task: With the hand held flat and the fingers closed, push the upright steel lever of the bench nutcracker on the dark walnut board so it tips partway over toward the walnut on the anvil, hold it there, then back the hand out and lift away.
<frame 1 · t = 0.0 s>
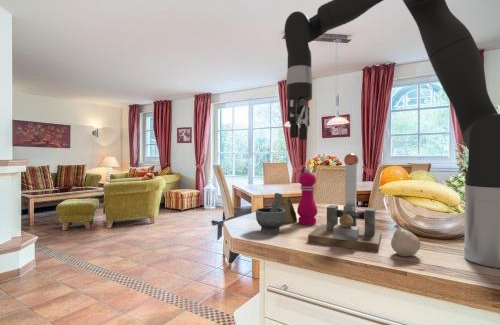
hand: (299, 138, 86), 29 cm above the counter, tool pointing down, fingers open, 8 cm apart
mortar and pestle: (271, 231, 93), on the counter
rock: (282, 222, 108), on the counter
pepper mill: (307, 223, 105), on the counter
garlic bulb: (405, 256, 70), on the counter
lever: (350, 192, 83), point 14 cm above the counter, hinge at 0.0°
cracker base: (345, 239, 84), on the counter
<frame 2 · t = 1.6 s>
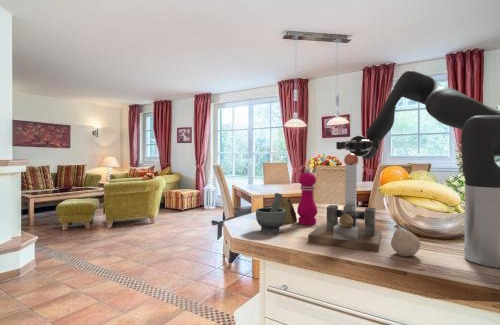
hand: (355, 144, 94), 28 cm above the counter, tool horizontal, fingers open, 7 cm apart
nothing on the counter moved.
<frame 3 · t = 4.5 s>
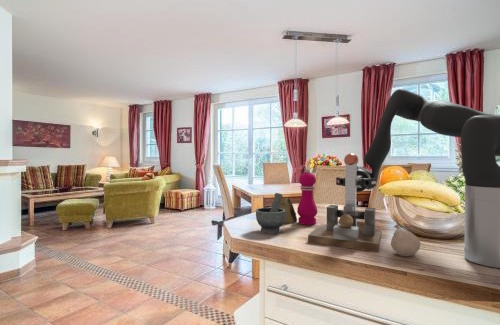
hand: (351, 183, 86), 16 cm above the counter, tool horizontal, fingers closed
lever: (350, 192, 83), point 14 cm above the counter, hinge at 0.0°, touching gripper
everything else where it was.
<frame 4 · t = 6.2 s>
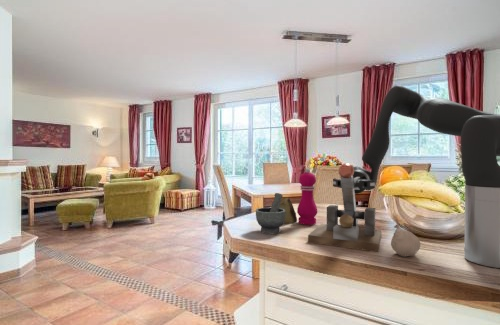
hand: (349, 185, 82), 16 cm above the counter, tool horizontal, fingers closed
lever: (348, 201, 80), point 12 cm above the counter, hinge at 34.9°, touching gripper
everything else where it was.
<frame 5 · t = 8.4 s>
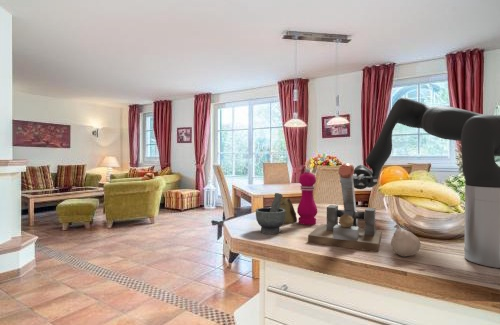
hand: (355, 181, 94), 16 cm above the counter, tool horizontal, fingers closed
lever: (348, 201, 80), point 12 cm above the counter, hinge at 35.2°
everything else where it was.
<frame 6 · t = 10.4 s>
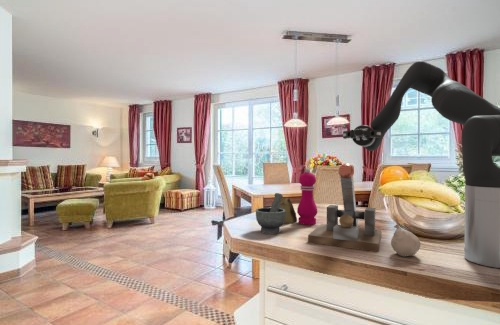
hand: (358, 132, 92), 32 cm above the counter, tool horizontal, fingers closed
nothing on the counter moved.
at the end: lever at +35° (first picture: +0°) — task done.
